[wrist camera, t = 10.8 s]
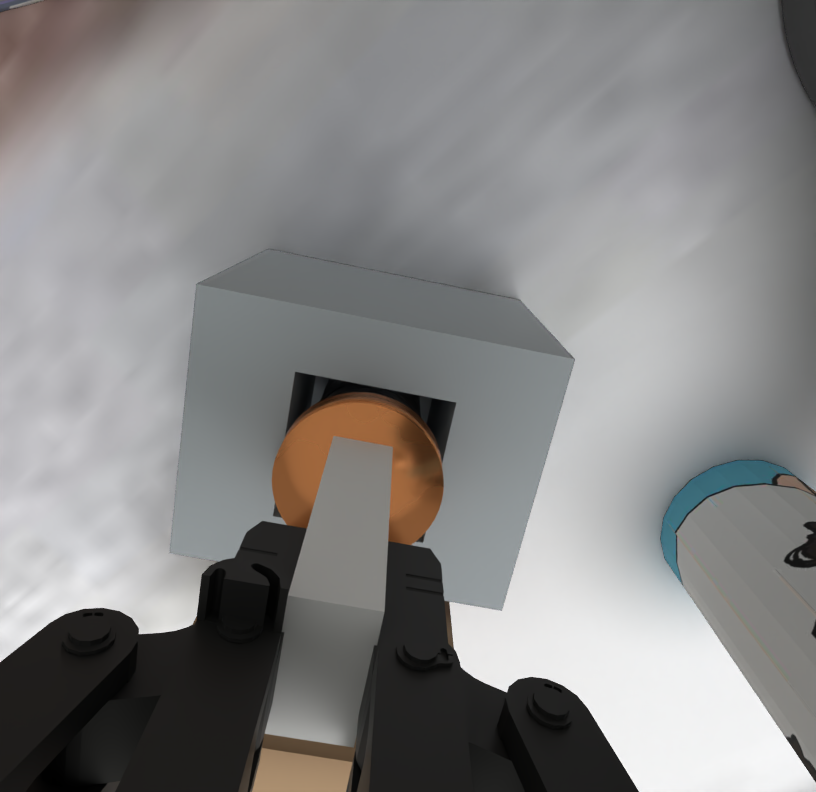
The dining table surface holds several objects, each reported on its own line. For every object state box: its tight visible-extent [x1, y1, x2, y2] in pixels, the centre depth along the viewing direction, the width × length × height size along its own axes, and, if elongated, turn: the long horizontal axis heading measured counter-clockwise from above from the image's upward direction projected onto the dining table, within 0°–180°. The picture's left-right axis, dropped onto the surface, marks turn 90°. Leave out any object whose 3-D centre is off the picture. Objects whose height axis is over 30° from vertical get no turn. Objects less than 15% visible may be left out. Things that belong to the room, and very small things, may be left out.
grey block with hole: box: [170, 249, 575, 611], centre depth 22 cm, size 8×10×9 cm
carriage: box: [193, 601, 454, 792], centre depth 23 cm, size 6×8×13 cm
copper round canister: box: [272, 378, 444, 545], centre depth 20 cm, size 4×4×7 cm
